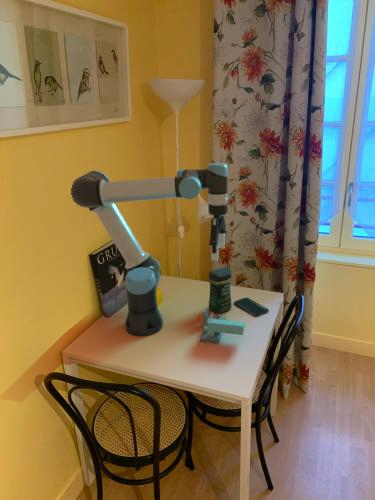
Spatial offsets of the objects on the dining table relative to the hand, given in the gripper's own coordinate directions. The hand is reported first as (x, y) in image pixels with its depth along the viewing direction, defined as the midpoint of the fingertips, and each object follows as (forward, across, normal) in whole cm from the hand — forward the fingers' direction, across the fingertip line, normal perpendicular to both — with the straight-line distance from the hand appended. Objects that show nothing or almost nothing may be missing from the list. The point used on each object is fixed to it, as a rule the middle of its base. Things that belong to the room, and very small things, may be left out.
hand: (218, 253), depth 165 cm
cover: (+20, -23, -7) cm, 31 cm away
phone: (+26, +4, -13) cm, 30 cm away
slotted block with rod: (+26, -18, -2) cm, 31 cm away
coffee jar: (+26, 0, -1) cm, 26 cm away
